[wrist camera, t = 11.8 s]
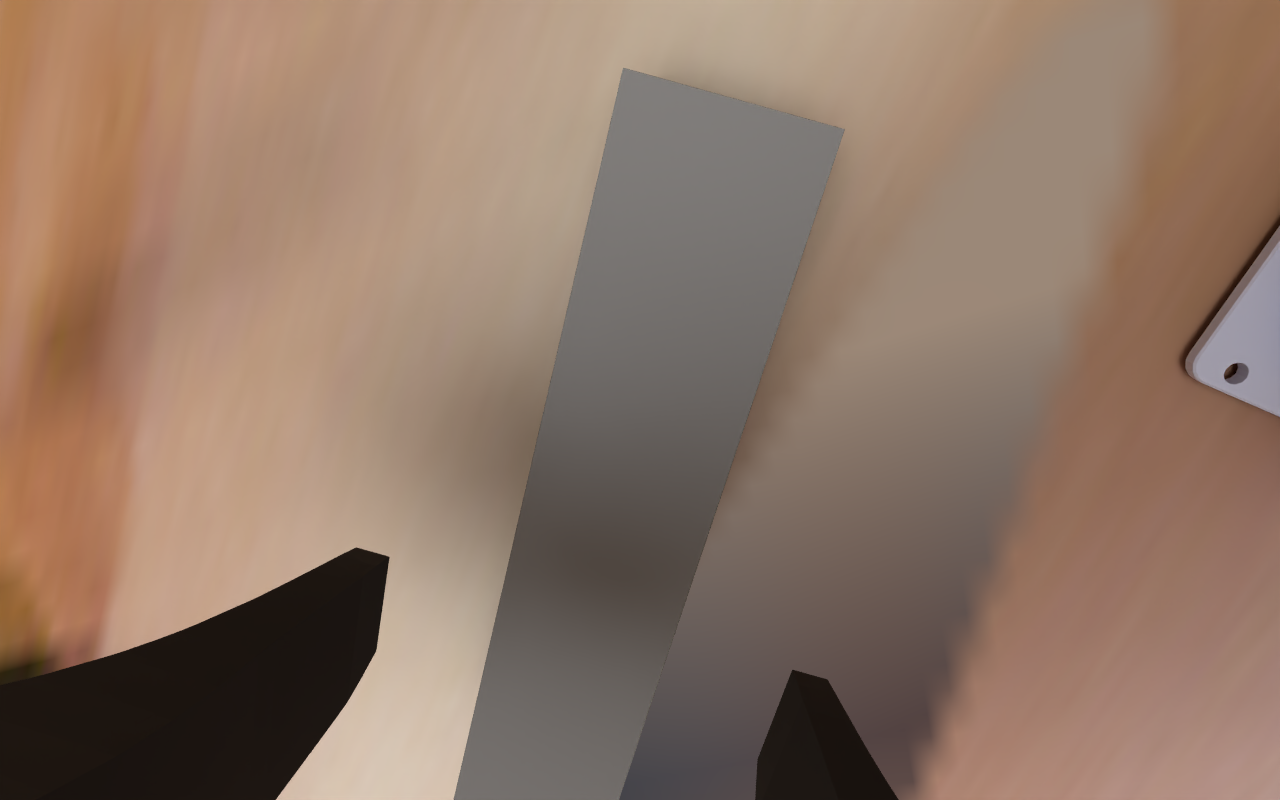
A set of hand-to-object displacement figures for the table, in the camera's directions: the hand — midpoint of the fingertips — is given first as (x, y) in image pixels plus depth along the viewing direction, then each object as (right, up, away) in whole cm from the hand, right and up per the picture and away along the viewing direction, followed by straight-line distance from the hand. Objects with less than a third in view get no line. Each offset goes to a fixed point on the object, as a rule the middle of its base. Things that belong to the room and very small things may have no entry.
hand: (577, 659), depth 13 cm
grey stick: (+1, +3, +8) cm, 9 cm away
